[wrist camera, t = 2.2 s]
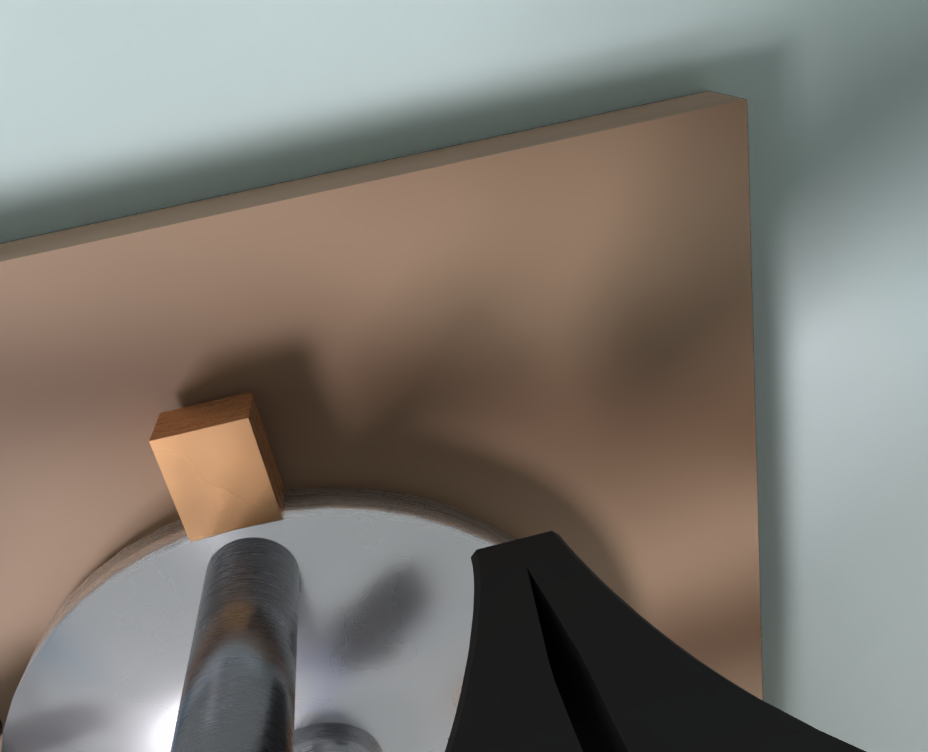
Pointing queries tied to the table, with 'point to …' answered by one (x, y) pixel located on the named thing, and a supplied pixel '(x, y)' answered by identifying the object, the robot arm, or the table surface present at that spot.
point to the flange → (259, 614)
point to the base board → (418, 360)
